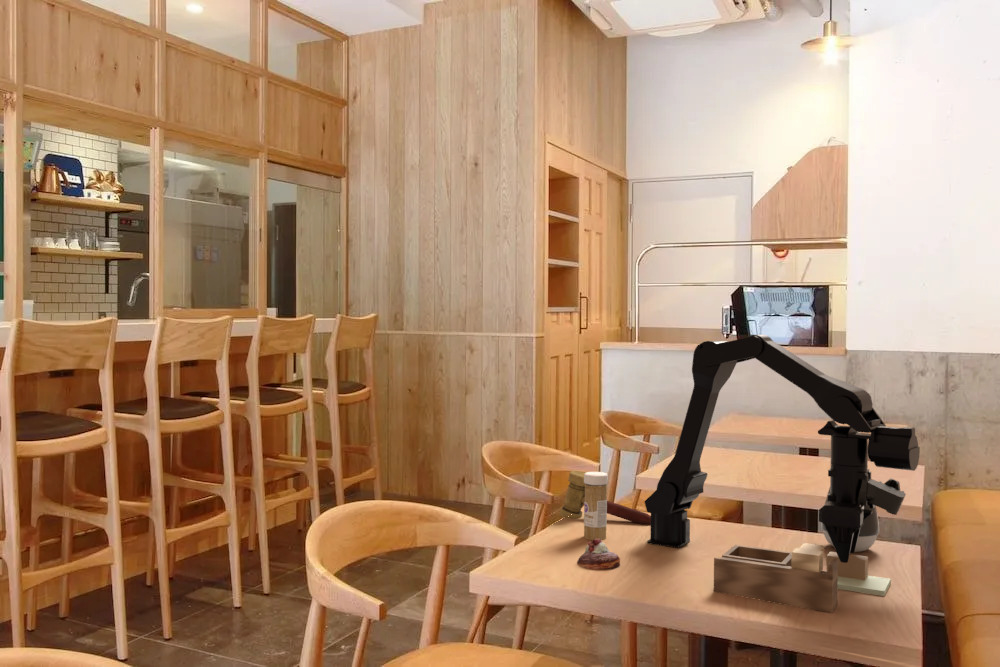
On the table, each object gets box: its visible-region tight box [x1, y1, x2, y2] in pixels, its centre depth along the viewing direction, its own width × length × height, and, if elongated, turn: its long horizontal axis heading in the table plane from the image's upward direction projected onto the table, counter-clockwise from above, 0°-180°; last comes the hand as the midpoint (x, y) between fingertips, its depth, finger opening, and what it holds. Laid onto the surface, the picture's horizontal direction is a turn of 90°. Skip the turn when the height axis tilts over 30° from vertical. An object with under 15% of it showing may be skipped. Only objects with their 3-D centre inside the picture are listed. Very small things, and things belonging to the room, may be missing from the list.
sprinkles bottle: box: [583, 471, 609, 541], centre depth 170 cm, size 5×5×14 cm
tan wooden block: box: [791, 542, 825, 573], centre depth 135 cm, size 4×7×3 cm, turn 150°
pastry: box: [577, 538, 621, 571], centre depth 153 cm, size 8×8×5 cm
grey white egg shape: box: [820, 487, 880, 553], centre depth 166 cm, size 10×10×15 cm
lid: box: [825, 551, 892, 597], centre depth 144 cm, size 10×8×4 cm
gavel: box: [559, 470, 651, 526], centre depth 185 cm, size 21×5×10 cm, turn 71°
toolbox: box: [713, 544, 838, 614], centre depth 140 cm, size 18×12×7 cm
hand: (847, 557), depth 146 cm, fingers open, 7 cm apart
